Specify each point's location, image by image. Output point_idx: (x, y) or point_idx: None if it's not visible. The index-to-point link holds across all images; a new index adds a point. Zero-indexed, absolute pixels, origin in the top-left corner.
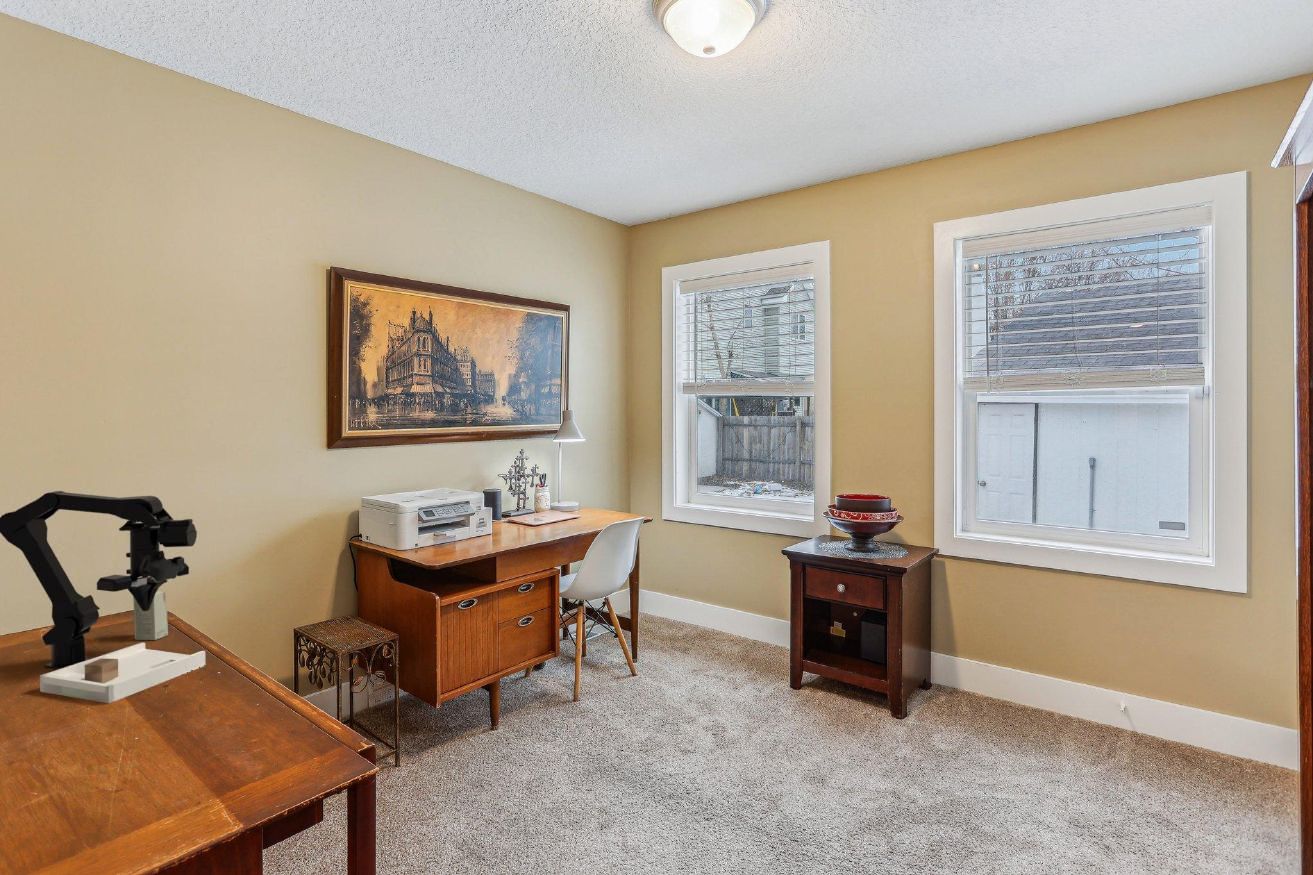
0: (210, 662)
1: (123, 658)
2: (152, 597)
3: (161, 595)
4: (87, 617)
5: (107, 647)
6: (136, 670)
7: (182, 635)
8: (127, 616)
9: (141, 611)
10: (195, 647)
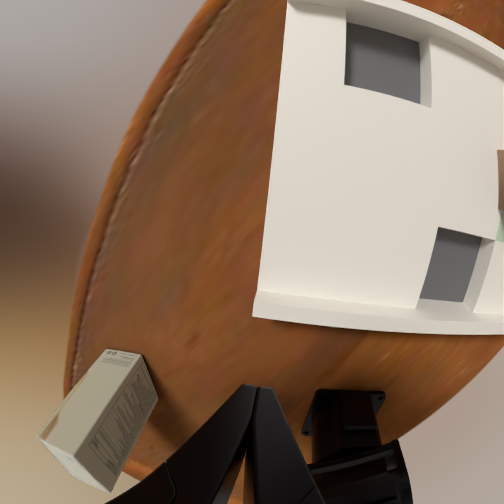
0: (259, 11)
1: (364, 280)
2: (191, 463)
3: (53, 437)
4: (361, 499)
5: None
6: (455, 129)
7: (90, 313)
8: None
9: (119, 442)
10: (142, 183)
